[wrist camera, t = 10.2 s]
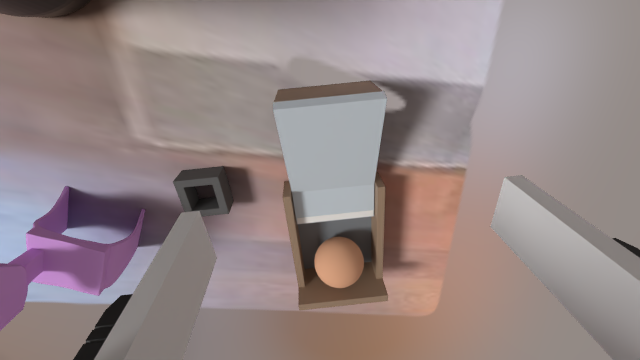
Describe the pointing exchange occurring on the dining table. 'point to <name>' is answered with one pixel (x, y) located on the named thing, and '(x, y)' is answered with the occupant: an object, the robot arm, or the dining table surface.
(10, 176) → the dining table surface
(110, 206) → the dining table surface
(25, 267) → the toy chair
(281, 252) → the dining table surface
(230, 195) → the square sleeve
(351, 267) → the ball
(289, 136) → the ramp with walled tray
